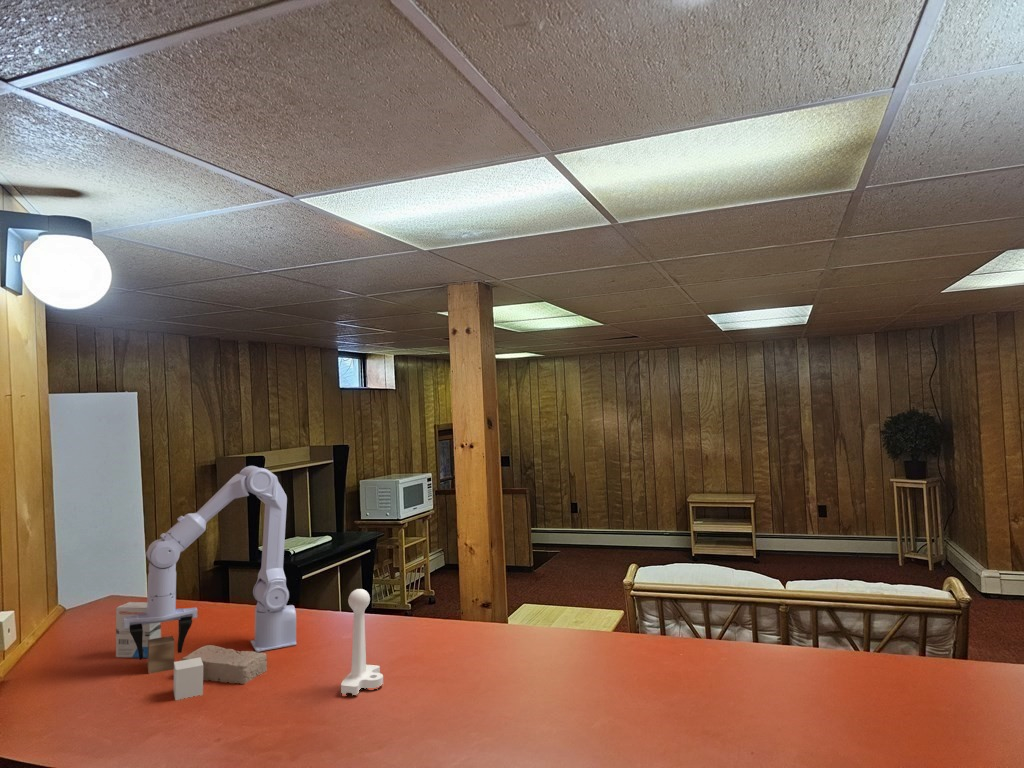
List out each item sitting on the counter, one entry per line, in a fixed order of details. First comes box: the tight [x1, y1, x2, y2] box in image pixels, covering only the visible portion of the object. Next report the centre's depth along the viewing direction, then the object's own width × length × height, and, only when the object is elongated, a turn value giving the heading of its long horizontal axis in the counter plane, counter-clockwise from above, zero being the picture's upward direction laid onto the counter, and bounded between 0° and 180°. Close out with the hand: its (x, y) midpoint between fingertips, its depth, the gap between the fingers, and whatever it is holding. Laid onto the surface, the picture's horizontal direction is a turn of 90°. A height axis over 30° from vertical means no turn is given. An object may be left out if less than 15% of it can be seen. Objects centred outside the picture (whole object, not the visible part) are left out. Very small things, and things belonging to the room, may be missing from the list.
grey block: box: [172, 657, 204, 701], centre depth 134 cm, size 5×5×6 cm
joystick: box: [340, 588, 384, 696], centre depth 137 cm, size 11×8×20 cm
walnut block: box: [146, 635, 175, 675], centre depth 148 cm, size 5×5×6 cm
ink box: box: [115, 601, 162, 659], centre depth 156 cm, size 9×5×12 cm, turn 84°
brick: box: [180, 644, 268, 685], centre depth 144 cm, size 17×8×5 cm, turn 75°
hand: (160, 654), depth 148 cm, fingers open, 7 cm apart
